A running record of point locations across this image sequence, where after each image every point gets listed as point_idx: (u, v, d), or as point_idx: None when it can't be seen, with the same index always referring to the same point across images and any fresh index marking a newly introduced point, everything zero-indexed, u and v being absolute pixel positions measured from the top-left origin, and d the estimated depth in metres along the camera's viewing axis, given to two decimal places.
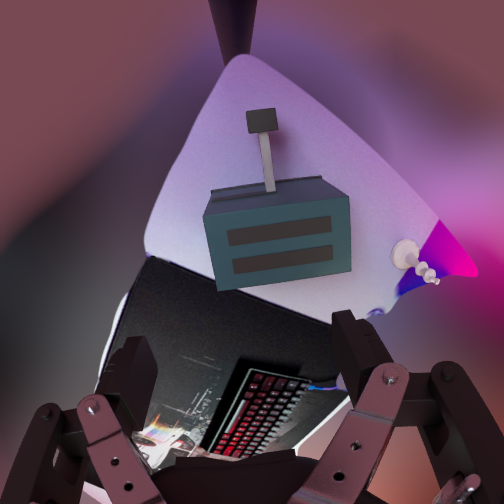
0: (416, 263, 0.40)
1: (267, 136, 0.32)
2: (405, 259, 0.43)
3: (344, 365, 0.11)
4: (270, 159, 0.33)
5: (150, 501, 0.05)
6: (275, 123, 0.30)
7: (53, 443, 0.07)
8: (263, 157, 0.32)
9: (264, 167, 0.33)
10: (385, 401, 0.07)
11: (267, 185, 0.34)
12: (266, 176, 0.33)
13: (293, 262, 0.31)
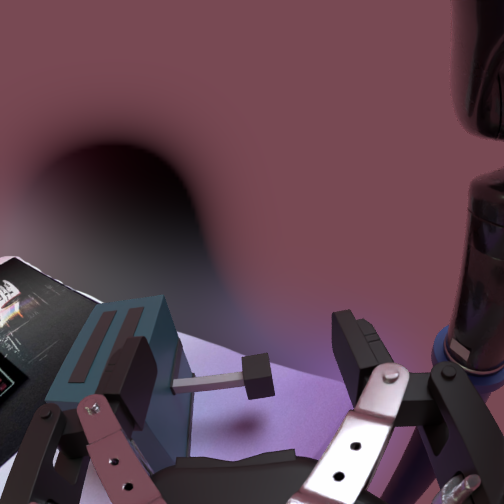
0: None
1: (237, 378, 0.26)
2: None
3: (344, 365, 0.11)
4: (209, 382, 0.26)
5: (150, 501, 0.05)
6: (251, 377, 0.25)
7: (53, 443, 0.07)
8: (213, 376, 0.27)
9: (201, 377, 0.27)
10: (385, 401, 0.07)
11: (180, 379, 0.27)
12: (190, 379, 0.27)
13: (87, 349, 0.23)
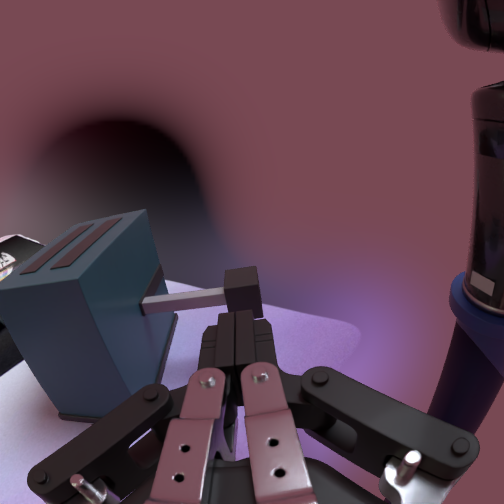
0: None
1: (218, 293, 0.23)
2: None
3: None
4: (185, 297, 0.23)
5: (150, 501, 0.05)
6: (233, 286, 0.21)
7: (140, 429, 0.08)
8: (190, 292, 0.23)
9: (176, 294, 0.23)
10: (269, 397, 0.08)
11: (152, 297, 0.23)
12: (164, 295, 0.23)
13: (51, 250, 0.20)
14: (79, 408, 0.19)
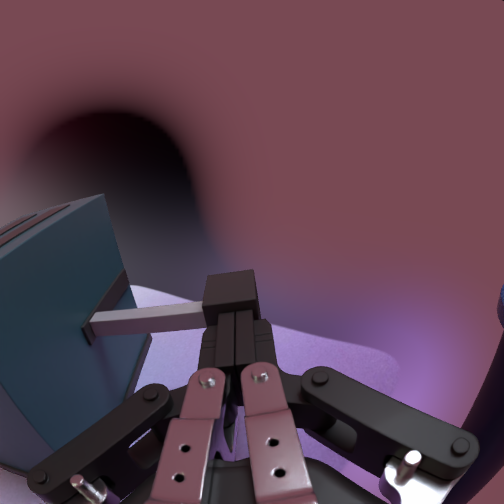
0: None
1: (195, 310, 0.15)
2: None
3: None
4: (147, 315, 0.15)
5: (150, 501, 0.05)
6: (217, 301, 0.14)
7: (140, 429, 0.08)
8: (156, 307, 0.15)
9: (137, 309, 0.16)
10: (269, 397, 0.08)
11: (105, 312, 0.16)
12: (120, 311, 0.15)
13: None
14: (14, 462, 0.10)
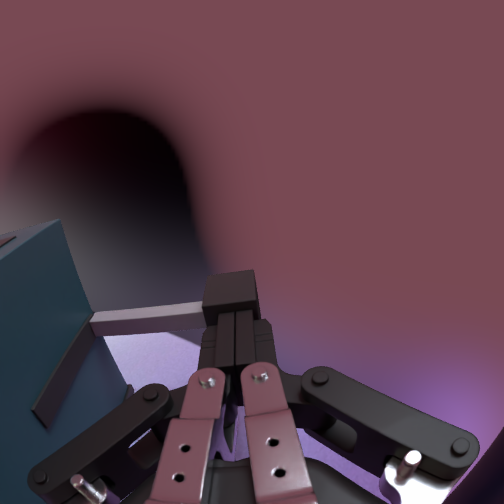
0: None
1: (195, 310, 0.15)
2: None
3: None
4: (147, 315, 0.15)
5: (150, 501, 0.05)
6: (217, 302, 0.14)
7: (140, 429, 0.08)
8: (156, 307, 0.15)
9: (137, 309, 0.16)
10: (269, 397, 0.08)
11: (105, 312, 0.15)
12: (120, 311, 0.15)
13: None
14: None
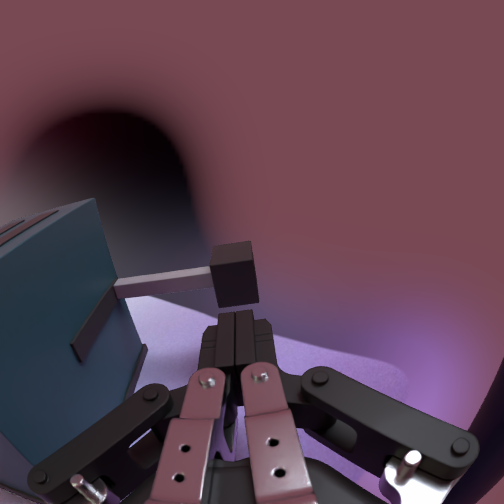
0: None
1: (204, 272, 0.18)
2: None
3: None
4: (164, 278, 0.19)
5: (150, 501, 0.05)
6: (222, 262, 0.17)
7: (140, 429, 0.08)
8: (171, 272, 0.19)
9: (155, 274, 0.19)
10: (269, 397, 0.08)
11: (126, 278, 0.19)
12: (140, 276, 0.19)
13: None
14: (7, 481, 0.09)
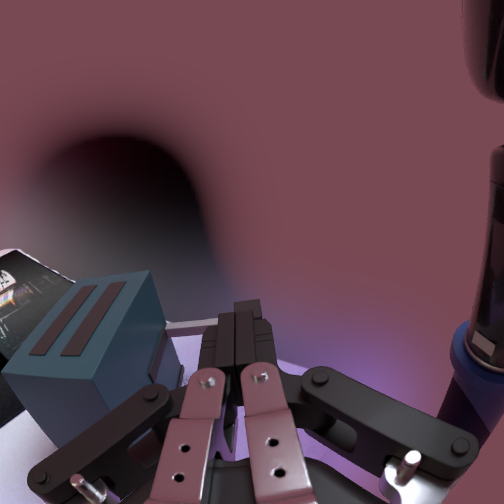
0: None
1: None
2: None
3: None
4: (201, 324, 0.28)
5: (150, 501, 0.05)
6: None
7: (140, 429, 0.08)
8: (205, 320, 0.28)
9: (194, 321, 0.29)
10: (269, 397, 0.08)
11: (173, 323, 0.28)
12: (183, 322, 0.28)
13: (56, 321, 0.20)
14: None
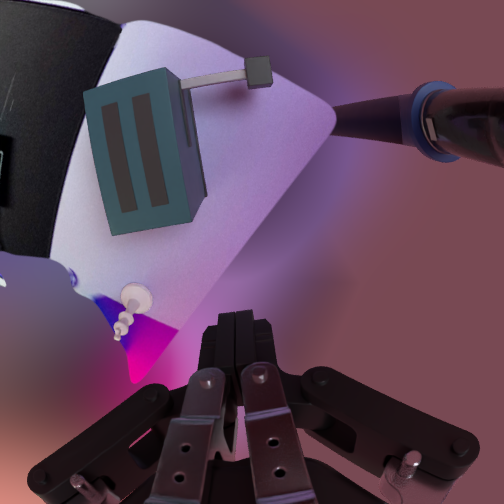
0: (130, 311, 0.39)
1: (241, 77, 0.28)
2: (131, 299, 0.42)
3: None
4: (215, 81, 0.28)
5: (150, 501, 0.05)
6: (255, 83, 0.27)
7: (140, 429, 0.08)
8: (218, 74, 0.27)
9: (207, 75, 0.27)
10: (269, 397, 0.08)
11: (187, 80, 0.27)
12: (197, 78, 0.27)
13: (116, 169, 0.25)
14: None
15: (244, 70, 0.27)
